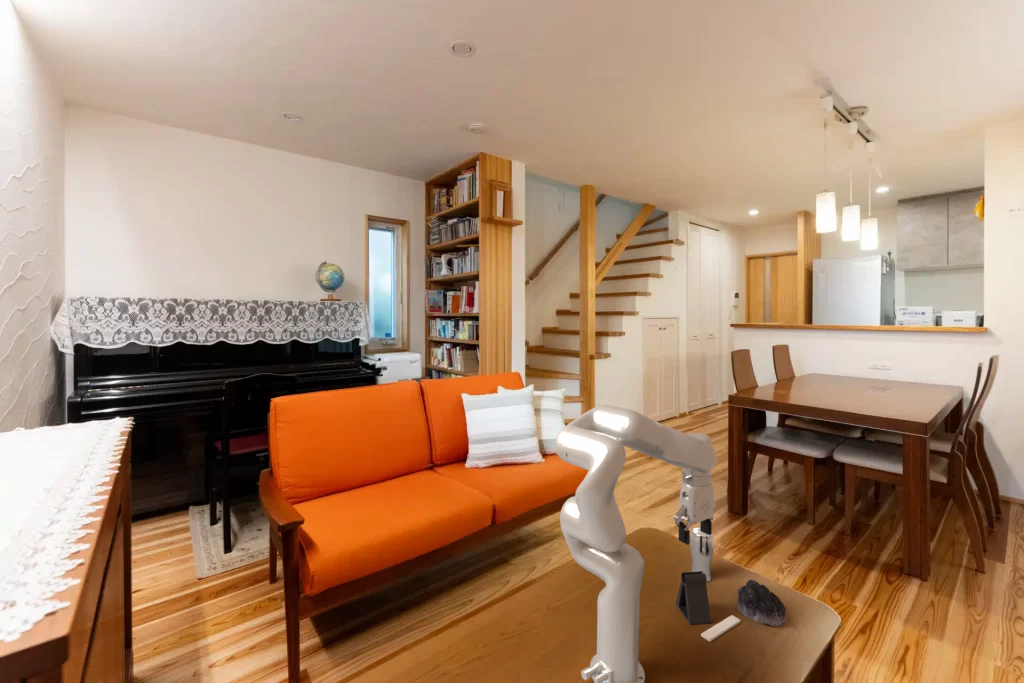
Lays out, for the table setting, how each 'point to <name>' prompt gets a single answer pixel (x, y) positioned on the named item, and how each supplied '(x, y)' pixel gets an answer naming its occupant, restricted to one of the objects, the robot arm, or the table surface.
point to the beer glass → (701, 551)
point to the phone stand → (694, 598)
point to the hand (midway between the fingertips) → (695, 537)
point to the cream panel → (720, 628)
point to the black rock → (760, 604)
